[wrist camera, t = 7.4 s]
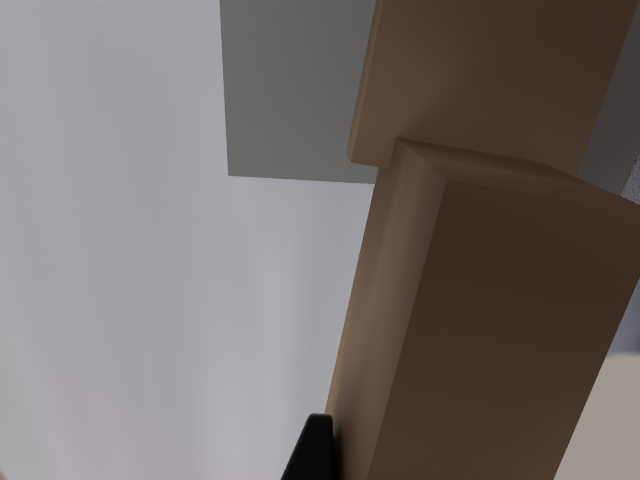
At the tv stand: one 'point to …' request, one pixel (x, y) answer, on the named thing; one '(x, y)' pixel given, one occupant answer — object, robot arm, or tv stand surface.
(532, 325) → the brown wooden bar
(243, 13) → the mat
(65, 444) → the tv stand surface
